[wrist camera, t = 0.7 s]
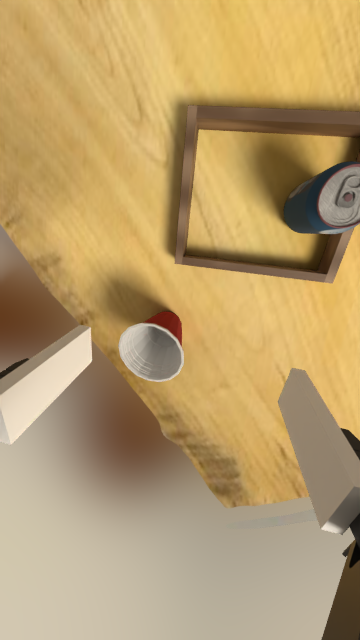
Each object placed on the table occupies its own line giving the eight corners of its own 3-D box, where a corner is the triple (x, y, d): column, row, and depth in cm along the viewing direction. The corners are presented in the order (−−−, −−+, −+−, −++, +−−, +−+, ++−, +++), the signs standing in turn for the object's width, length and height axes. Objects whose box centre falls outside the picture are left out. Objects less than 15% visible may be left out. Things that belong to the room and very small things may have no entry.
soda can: (319, 236, 34) (367, 240, 23) (274, 228, 34) (300, 228, 23) (340, 186, 31) (406, 161, 20) (291, 178, 31) (329, 150, 21)
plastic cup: (131, 316, 45) (102, 344, 34) (172, 289, 41) (155, 310, 30) (162, 355, 47) (144, 393, 36) (203, 333, 43) (198, 367, 32)
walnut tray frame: (191, 118, 31) (188, 105, 28) (378, 126, 28) (398, 113, 25) (178, 260, 39) (174, 263, 36) (322, 278, 36) (332, 283, 33)
